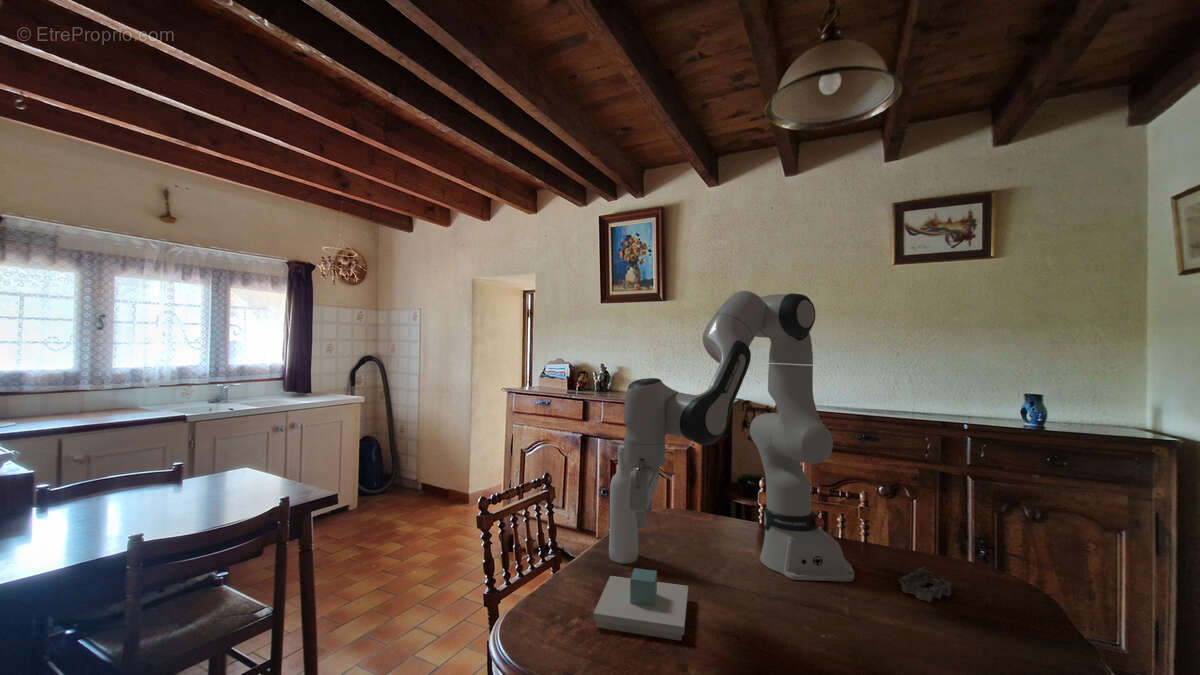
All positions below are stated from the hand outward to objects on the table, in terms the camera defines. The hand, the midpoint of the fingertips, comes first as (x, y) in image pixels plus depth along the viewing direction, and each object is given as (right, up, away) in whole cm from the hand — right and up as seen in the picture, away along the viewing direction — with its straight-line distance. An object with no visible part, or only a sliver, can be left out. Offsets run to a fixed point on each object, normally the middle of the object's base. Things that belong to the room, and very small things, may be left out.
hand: (644, 518), depth 99 cm
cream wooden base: (0, -20, -1) cm, 20 cm away
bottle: (-3, -21, +26) cm, 33 cm away
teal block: (0, -17, 0) cm, 17 cm away
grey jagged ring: (+67, -22, +10) cm, 71 cm away
